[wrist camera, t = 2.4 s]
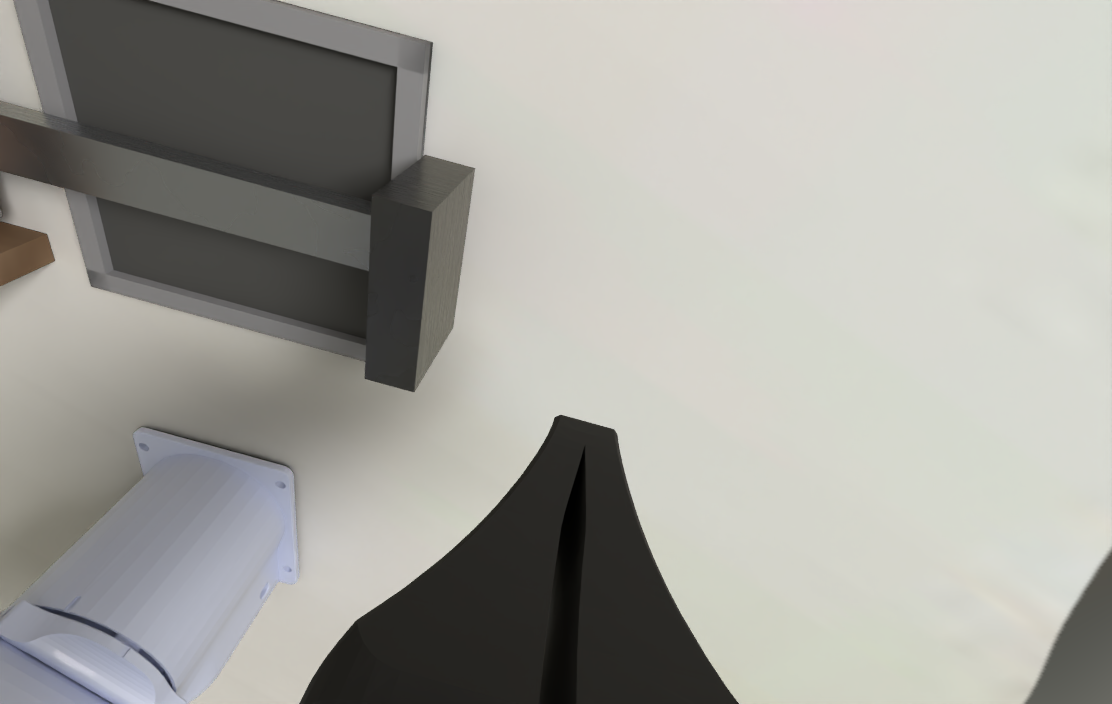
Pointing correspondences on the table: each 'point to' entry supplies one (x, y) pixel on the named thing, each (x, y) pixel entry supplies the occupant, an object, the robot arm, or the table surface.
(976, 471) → the table surface
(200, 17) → the grey flat square panel
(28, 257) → the tunnel
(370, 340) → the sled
